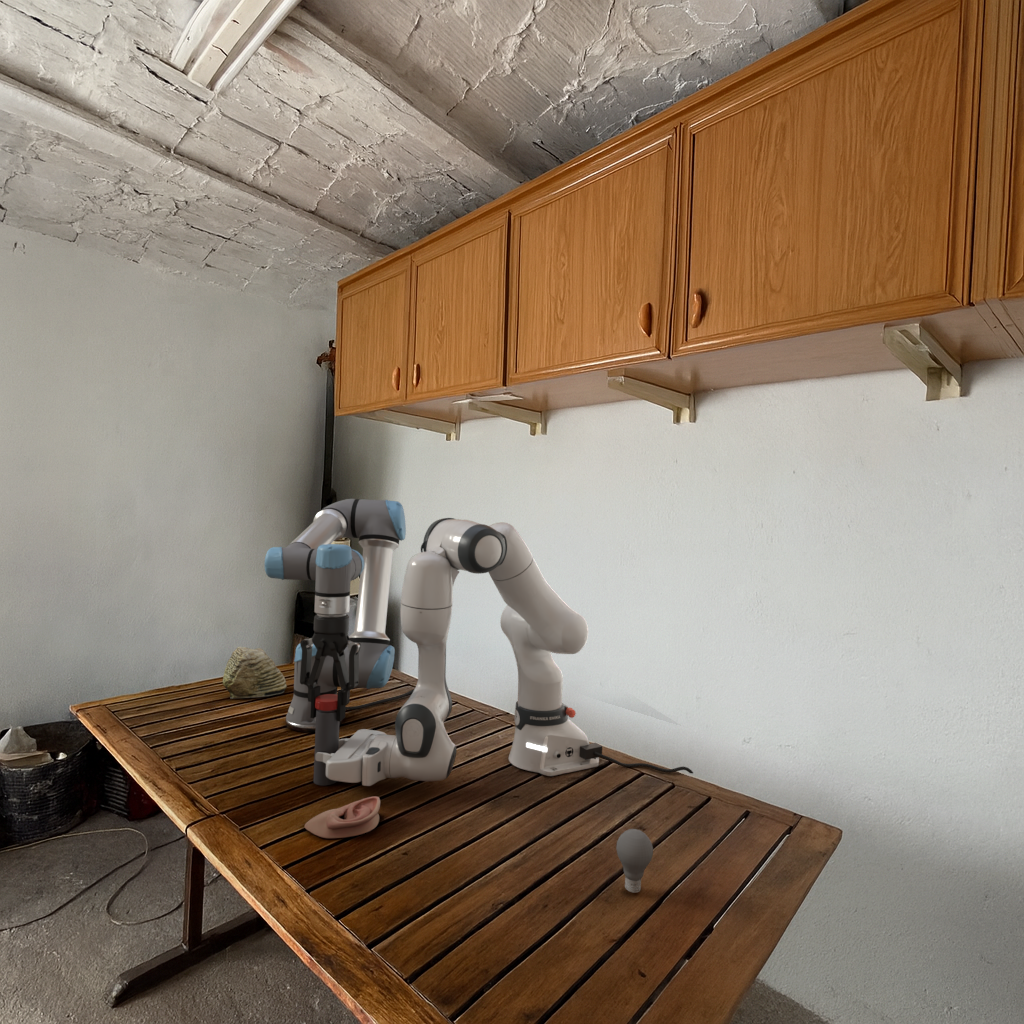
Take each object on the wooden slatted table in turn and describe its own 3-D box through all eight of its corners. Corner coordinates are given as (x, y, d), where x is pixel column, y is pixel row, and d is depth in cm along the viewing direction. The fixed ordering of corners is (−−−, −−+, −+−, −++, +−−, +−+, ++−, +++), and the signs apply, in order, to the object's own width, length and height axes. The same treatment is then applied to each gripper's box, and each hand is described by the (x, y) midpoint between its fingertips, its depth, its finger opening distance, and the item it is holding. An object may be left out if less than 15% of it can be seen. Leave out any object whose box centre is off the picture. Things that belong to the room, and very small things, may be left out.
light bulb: (610, 879, 108) (613, 822, 108) (644, 879, 109) (647, 822, 109) (619, 902, 102) (622, 840, 102) (655, 901, 103) (658, 840, 103)
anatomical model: (296, 812, 118) (326, 786, 130) (295, 833, 118) (325, 805, 130) (362, 823, 116) (387, 795, 127) (361, 844, 116) (386, 814, 127)
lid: (315, 711, 137) (316, 702, 137) (314, 703, 143) (314, 694, 143) (342, 709, 139) (343, 700, 139) (340, 701, 145) (340, 693, 145)
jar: (339, 783, 140) (342, 704, 140) (315, 787, 138) (318, 706, 138) (334, 774, 145) (337, 697, 145) (311, 777, 143) (314, 699, 142)
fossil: (218, 695, 195) (220, 647, 195) (278, 685, 208) (279, 640, 207) (228, 703, 189) (230, 653, 188) (289, 692, 201) (290, 645, 201)
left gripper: (284, 613, 139) (280, 718, 139) (364, 620, 135) (360, 727, 136) (301, 608, 146) (298, 708, 147) (377, 614, 143) (373, 716, 143)
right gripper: (397, 725, 150) (341, 720, 152) (367, 759, 130) (303, 753, 131) (396, 751, 150) (340, 746, 152) (366, 790, 130) (302, 783, 131)
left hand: (327, 717), depth 141 cm, fingers closed on lid, 5 cm apart
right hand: (322, 749), depth 141 cm, fingers closed on jar, 5 cm apart
